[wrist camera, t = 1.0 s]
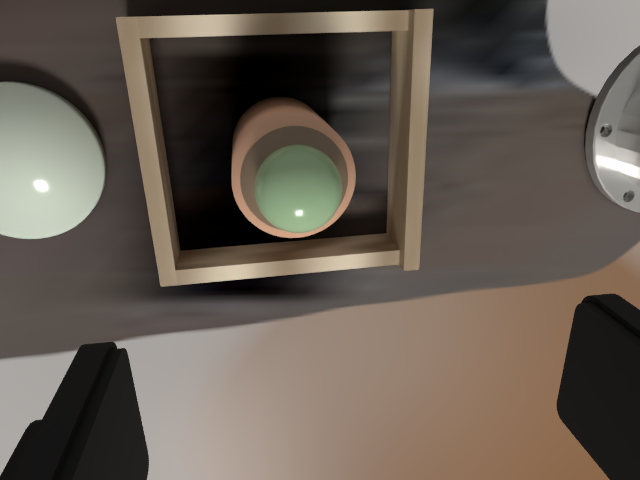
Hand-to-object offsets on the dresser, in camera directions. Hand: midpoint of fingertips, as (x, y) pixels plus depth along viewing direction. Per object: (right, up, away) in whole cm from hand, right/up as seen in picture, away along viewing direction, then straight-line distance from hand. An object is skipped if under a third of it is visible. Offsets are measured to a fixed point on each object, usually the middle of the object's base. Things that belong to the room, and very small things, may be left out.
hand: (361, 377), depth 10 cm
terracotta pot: (-3, +9, +21) cm, 23 cm away
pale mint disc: (-18, +7, +19) cm, 27 cm away
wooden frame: (-3, +9, +21) cm, 23 cm away
